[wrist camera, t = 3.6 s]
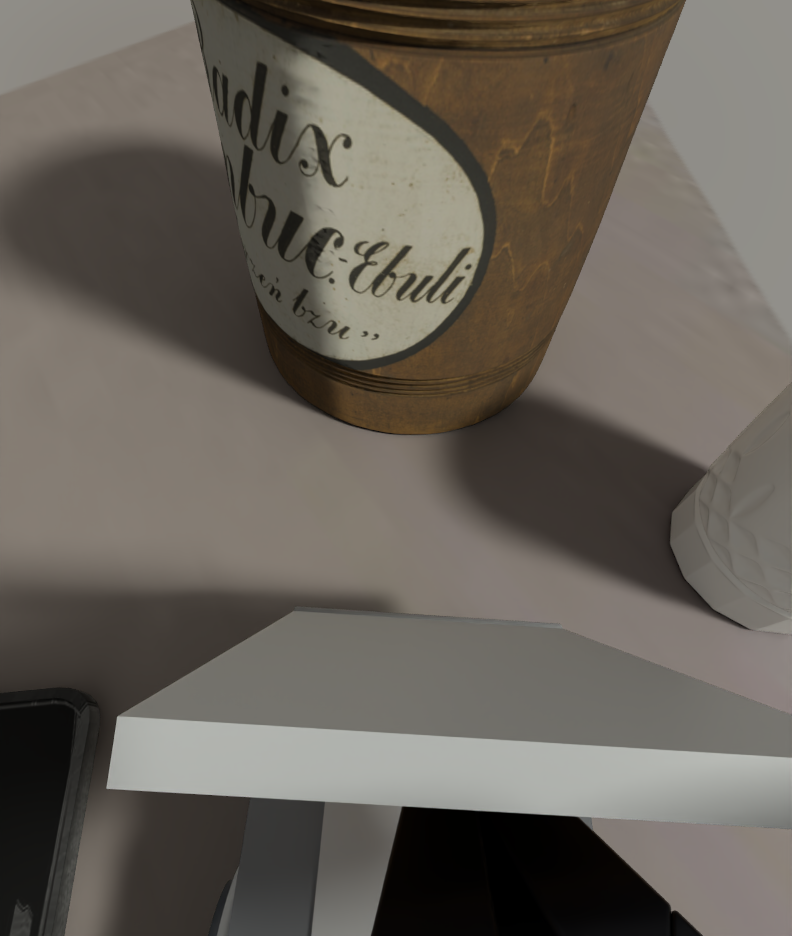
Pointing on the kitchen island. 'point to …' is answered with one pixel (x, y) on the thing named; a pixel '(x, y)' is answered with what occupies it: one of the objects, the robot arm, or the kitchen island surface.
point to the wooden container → (422, 184)
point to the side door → (458, 725)
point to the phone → (42, 804)
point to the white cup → (743, 525)
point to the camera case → (309, 869)
